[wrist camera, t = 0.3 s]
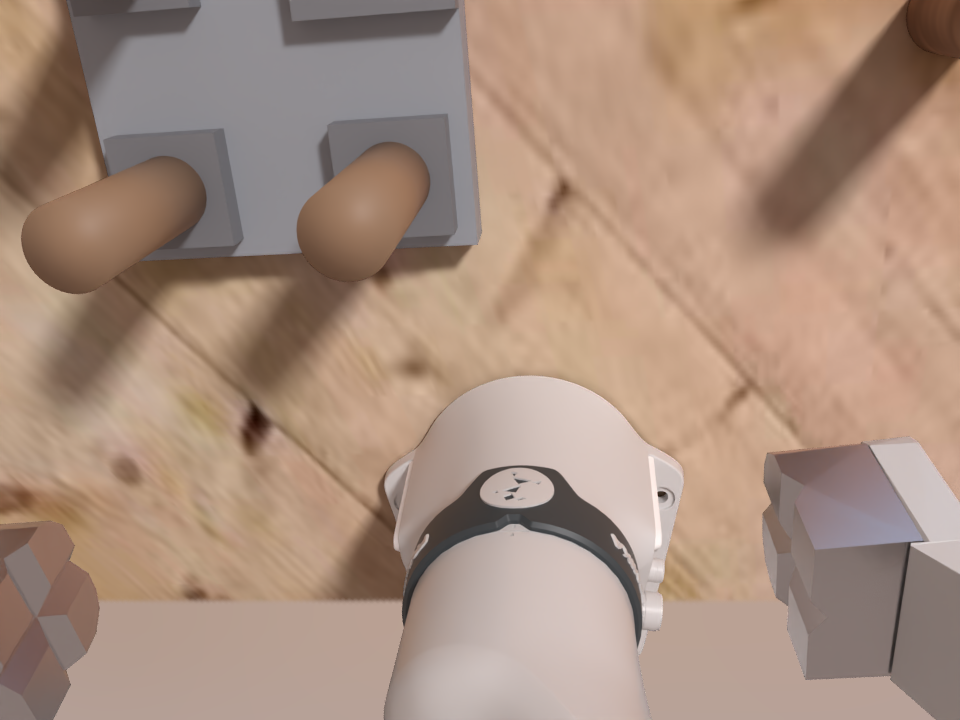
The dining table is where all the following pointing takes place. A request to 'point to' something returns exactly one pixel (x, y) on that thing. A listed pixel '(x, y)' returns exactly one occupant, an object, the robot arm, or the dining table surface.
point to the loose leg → (935, 25)
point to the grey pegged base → (266, 136)
